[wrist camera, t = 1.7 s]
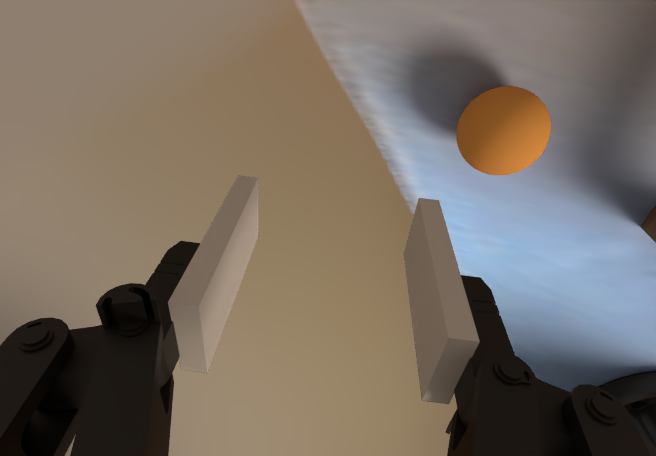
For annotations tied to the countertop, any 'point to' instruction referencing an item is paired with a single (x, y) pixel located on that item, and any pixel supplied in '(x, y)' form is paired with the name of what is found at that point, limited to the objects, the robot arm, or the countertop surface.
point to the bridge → (650, 225)
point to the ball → (503, 130)
